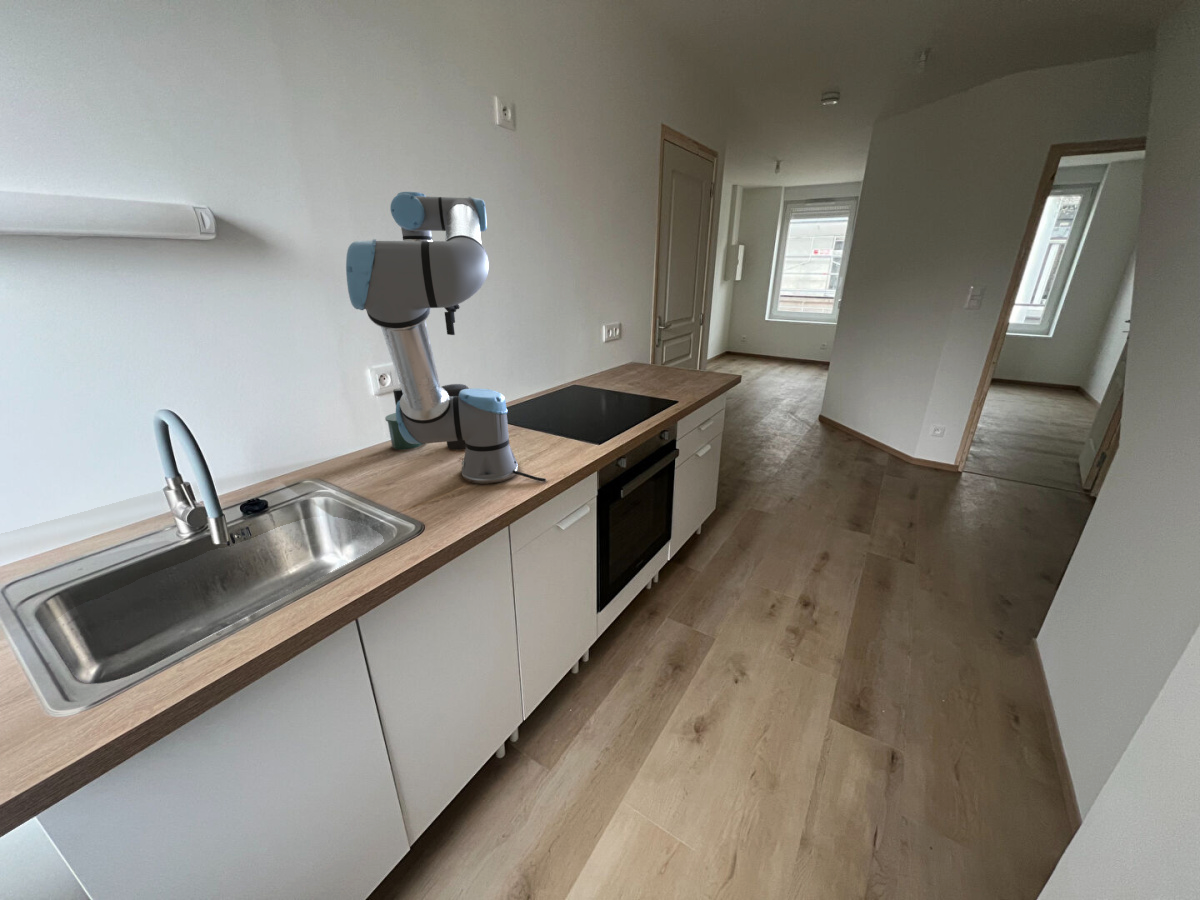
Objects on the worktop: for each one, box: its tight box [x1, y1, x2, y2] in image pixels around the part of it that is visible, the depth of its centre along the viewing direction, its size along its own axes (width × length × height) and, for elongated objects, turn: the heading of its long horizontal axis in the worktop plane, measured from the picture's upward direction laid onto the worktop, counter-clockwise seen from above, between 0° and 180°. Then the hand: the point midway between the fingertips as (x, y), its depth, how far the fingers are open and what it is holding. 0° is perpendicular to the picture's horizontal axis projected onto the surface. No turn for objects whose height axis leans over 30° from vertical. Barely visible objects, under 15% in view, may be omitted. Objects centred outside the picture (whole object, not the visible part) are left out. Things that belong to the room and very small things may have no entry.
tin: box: [387, 422, 423, 450], centre depth 144 cm, size 9×9×10 cm
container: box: [441, 383, 470, 451], centre depth 142 cm, size 9×9×20 cm
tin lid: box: [384, 387, 403, 423], centre depth 141 cm, size 10×10×10 cm
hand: (431, 337), depth 131 cm, fingers open, 13 cm apart
